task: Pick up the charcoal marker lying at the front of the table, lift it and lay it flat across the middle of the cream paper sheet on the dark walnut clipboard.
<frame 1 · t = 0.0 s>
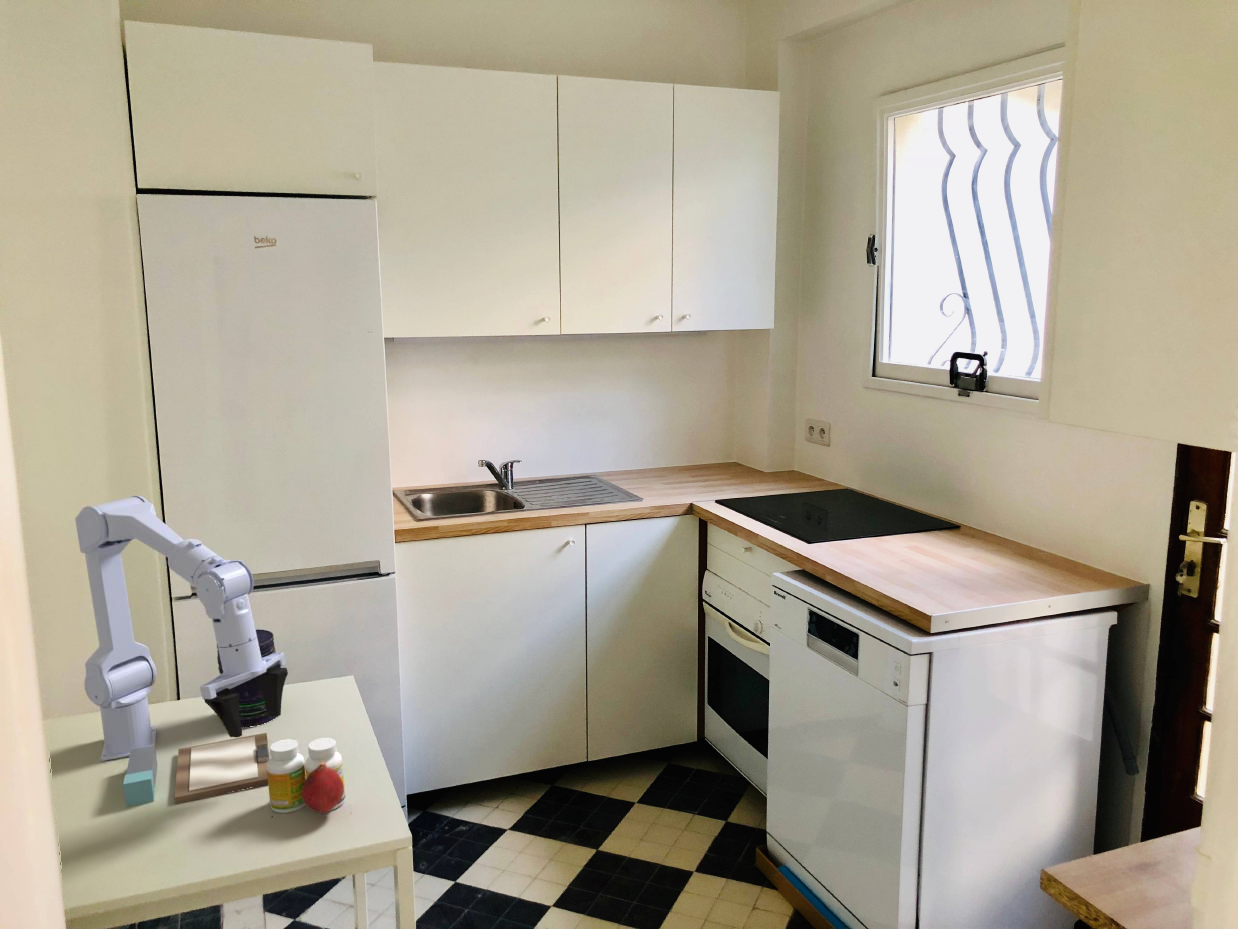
hand: (255, 725, 147), 11 cm above the table, tool pointing down, fingers open, 7 cm apart
onion: (325, 814, 141), on the table, touching supplement bottle 2
supplement bottle 2: (327, 804, 144), on the table, touching onion
storage jar: (252, 717, 174), on the table
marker: (142, 785, 150), on the table
supplement bottle: (289, 805, 144), on the table
clipboard: (224, 768, 155), on the table
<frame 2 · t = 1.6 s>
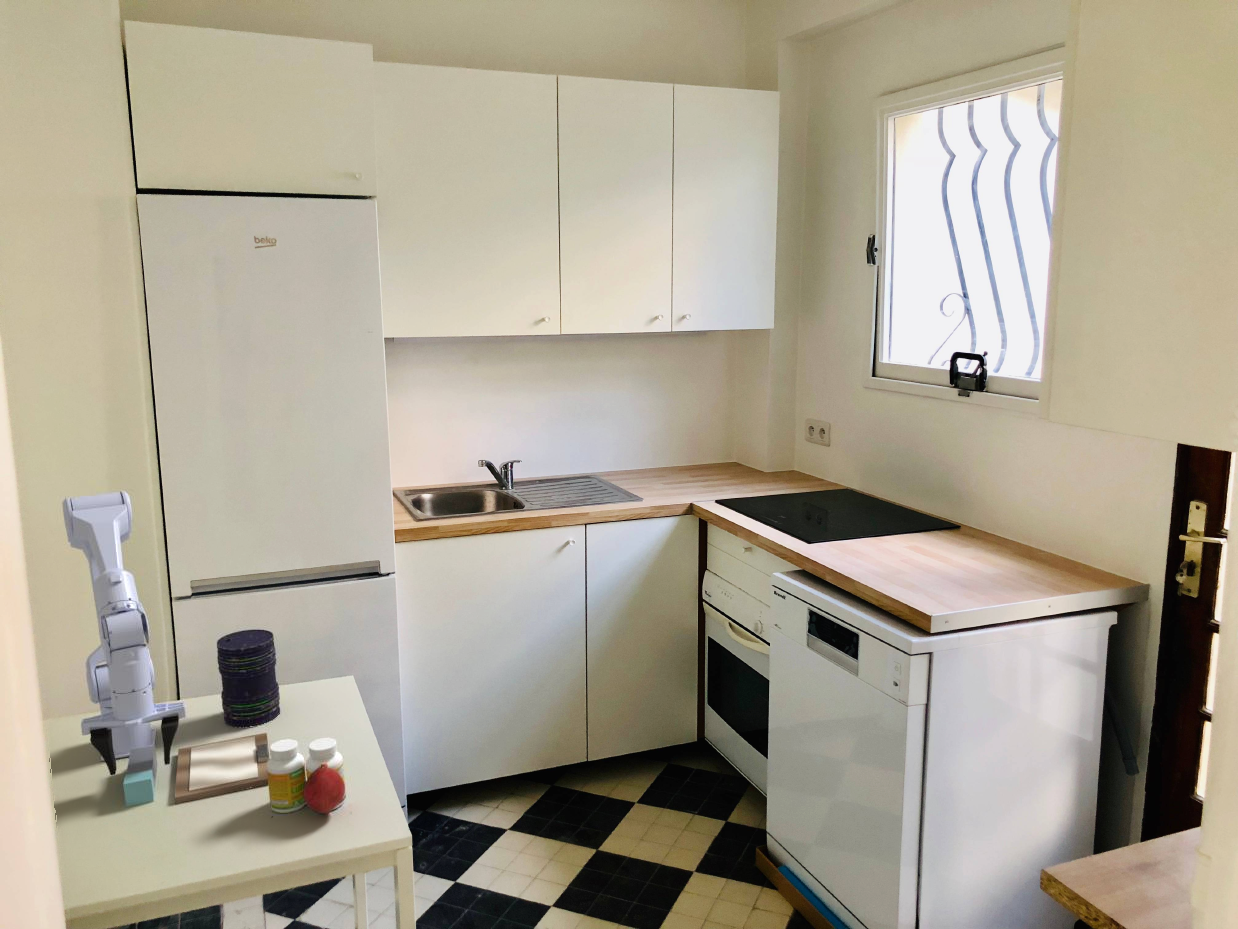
hand: (140, 767, 150), 3 cm above the table, tool pointing down, fingers open, 7 cm apart
nothing on the table moved.
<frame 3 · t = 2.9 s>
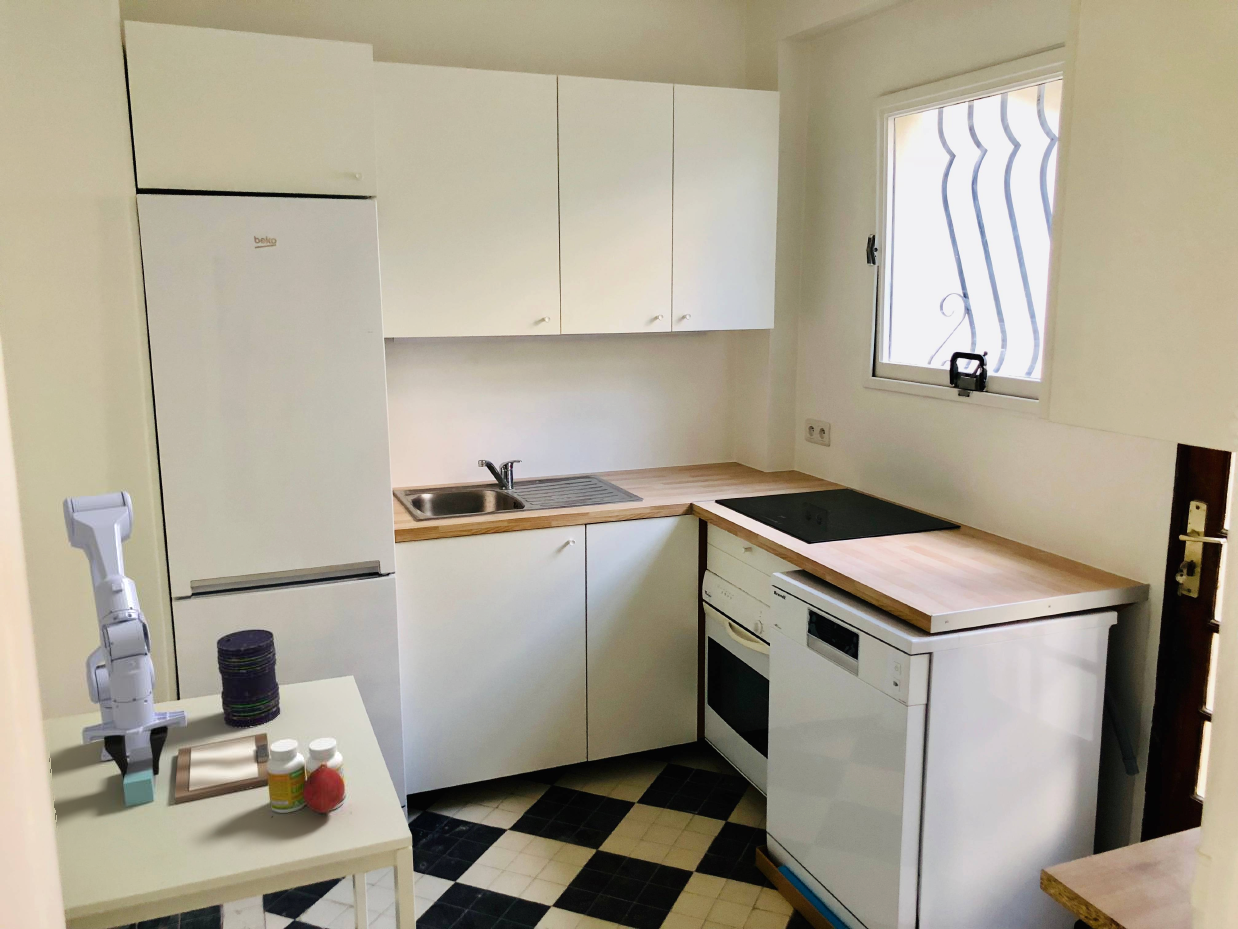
hand: (141, 775, 150), 2 cm above the table, tool pointing down, fingers closed on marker, 4 cm apart
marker: (142, 784, 150), on the table, touching gripper
everything else where it was.
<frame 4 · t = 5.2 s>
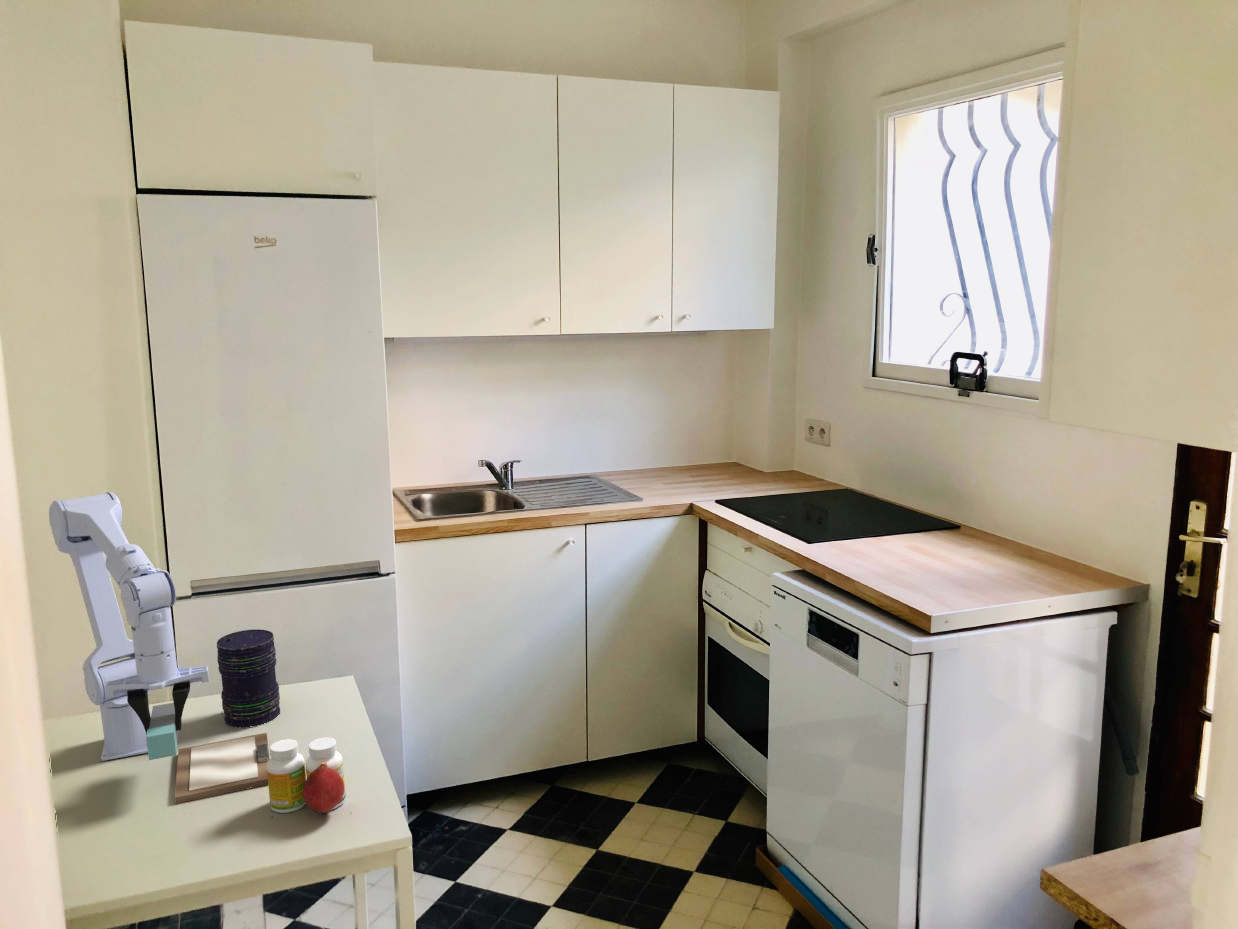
hand: (164, 730, 150), 8 cm above the table, tool pointing down, fingers closed on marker, 4 cm apart
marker: (165, 740, 151), point 7 cm above the table, touching gripper
everything else where it was.
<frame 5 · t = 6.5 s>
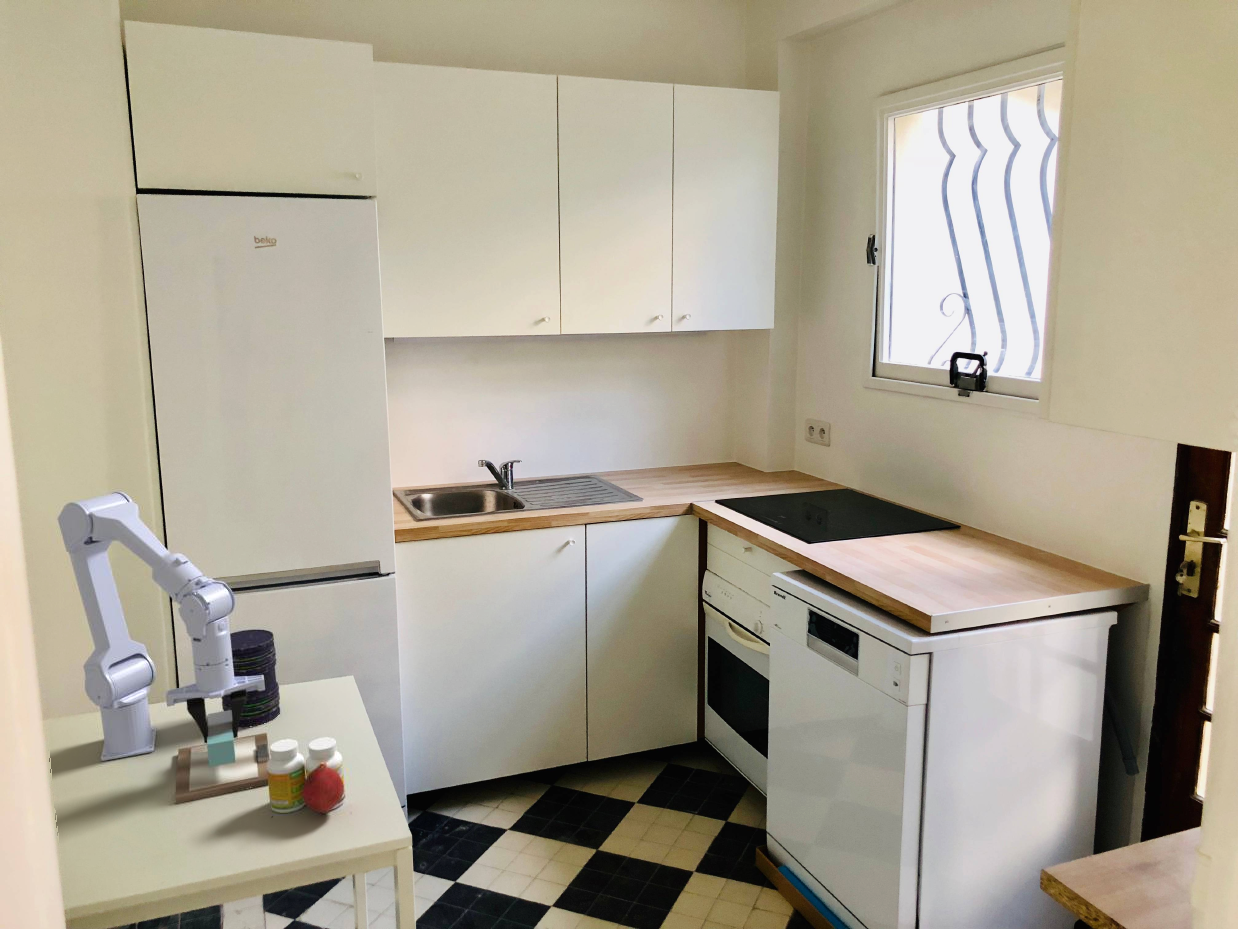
hand: (221, 738, 154), 5 cm above the table, tool pointing down, fingers closed on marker, 4 cm apart
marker: (222, 747, 154), point 4 cm above the table, touching gripper
everything else where it was.
when the fingers open (4 cm above the table, at t = 7.6 s): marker drops 1 cm, resting on clipboard.
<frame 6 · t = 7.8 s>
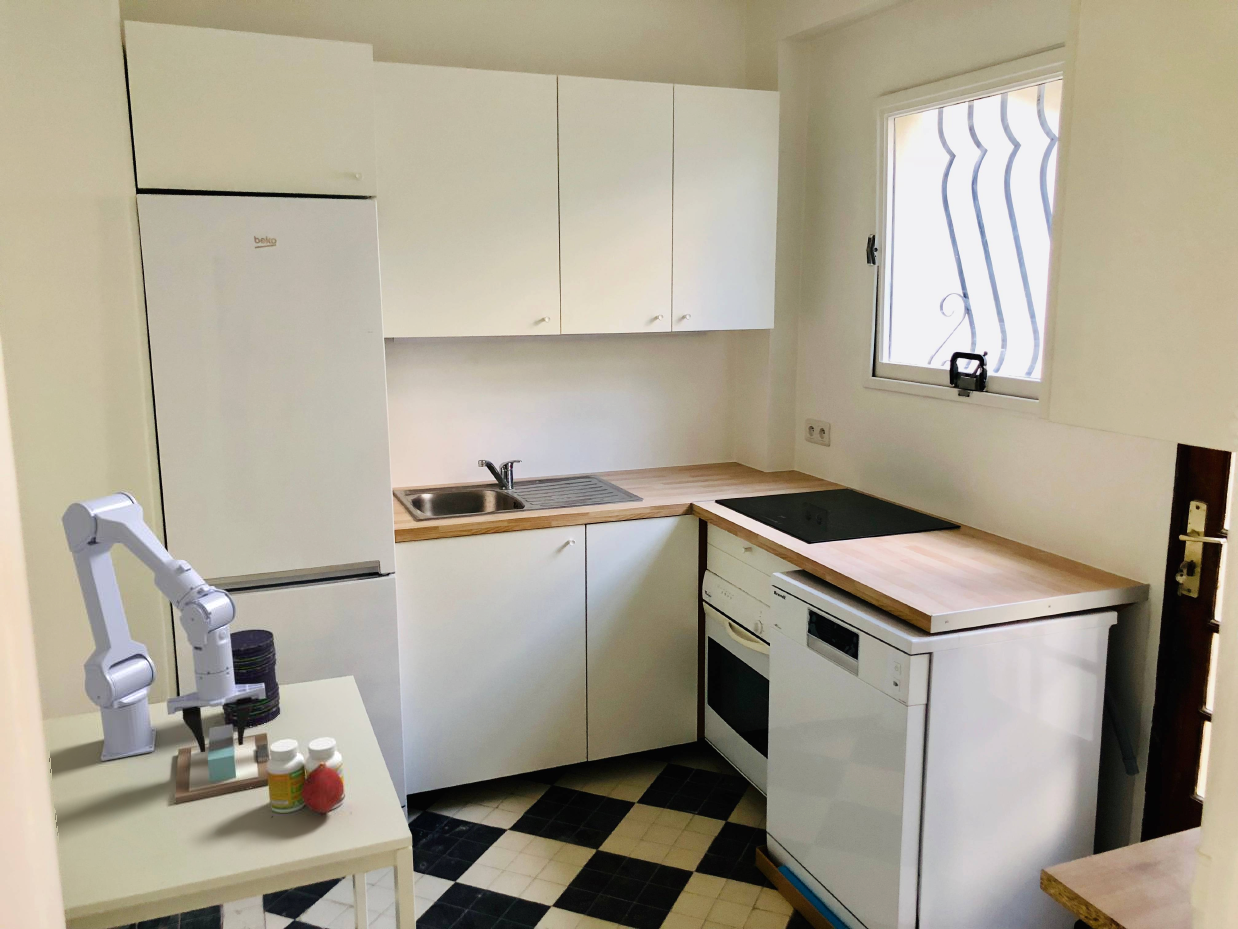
hand: (221, 746, 154), 4 cm above the table, tool pointing down, fingers open, 5 cm apart
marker: (223, 762, 155), point 1 cm above the table, touching clipboard
everything else where it was.
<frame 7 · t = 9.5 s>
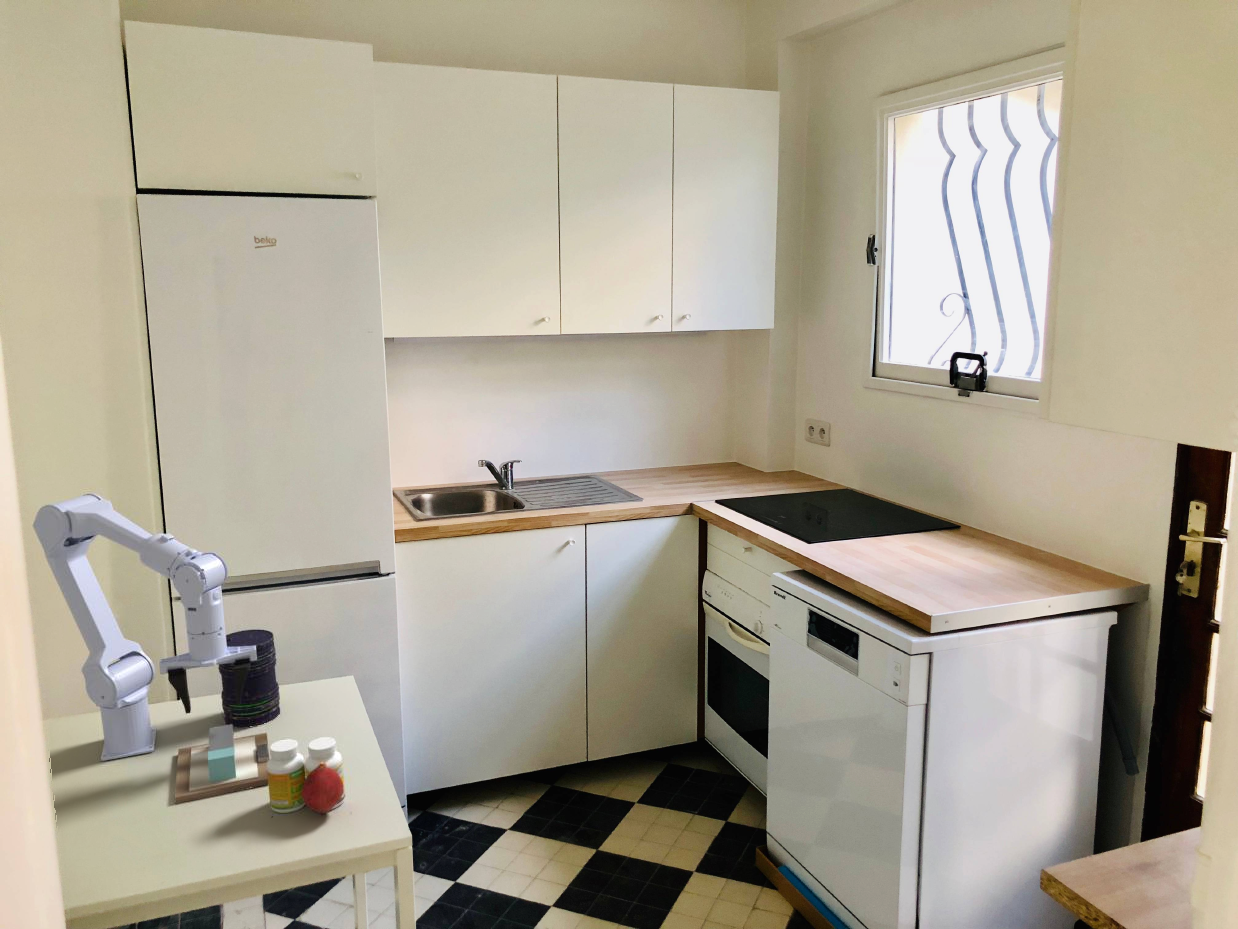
hand: (213, 706, 157), 9 cm above the table, tool pointing down, fingers open, 7 cm apart
nothing on the table moved.
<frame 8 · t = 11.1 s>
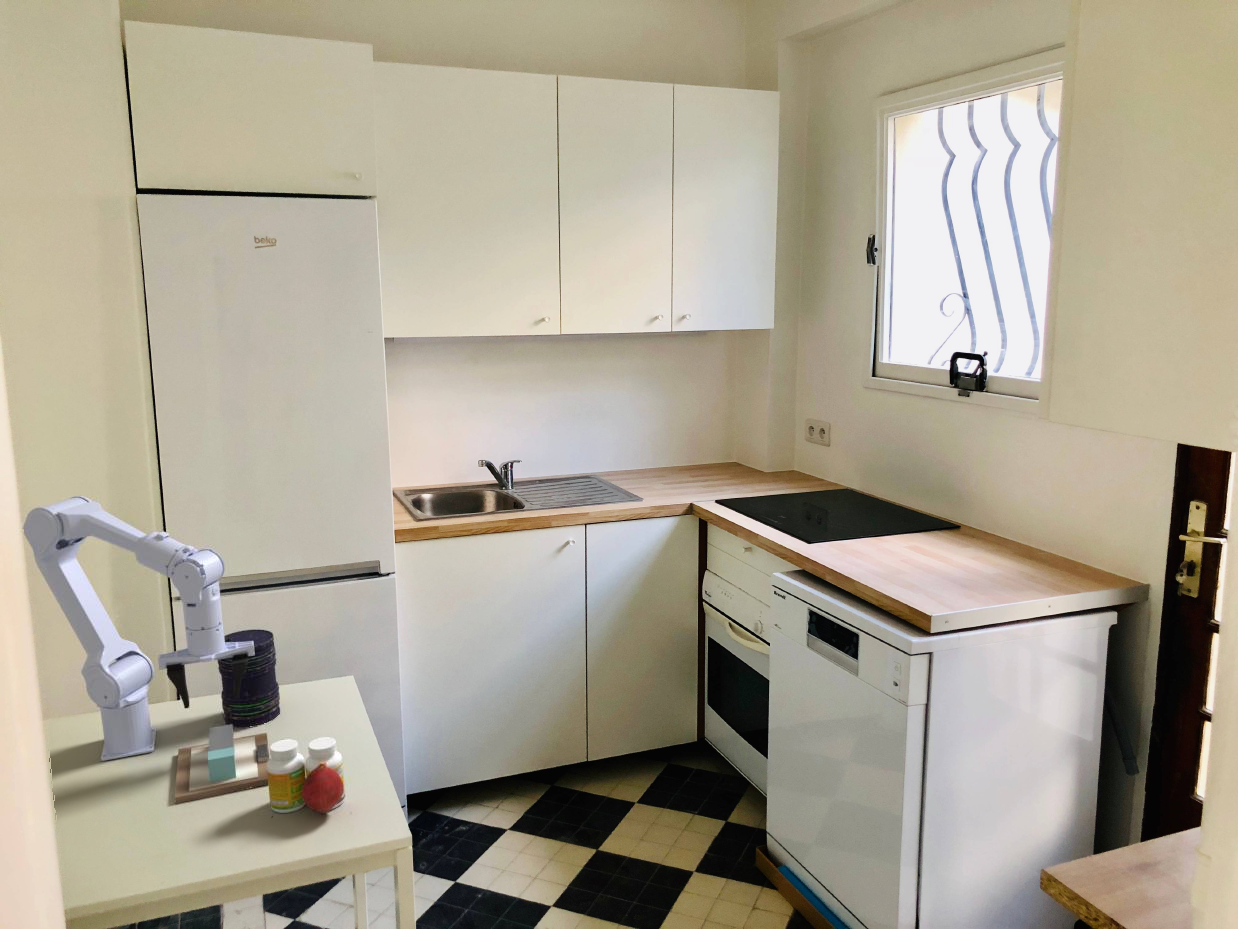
hand: (212, 701, 158), 9 cm above the table, tool pointing down, fingers open, 7 cm apart
nothing on the table moved.
at the end: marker inside the target area on the clipboard (0.1 cm from its centre), point 1.2 cm above the clipboard's base; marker tilted 0°; the gripper is holding nothing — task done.
